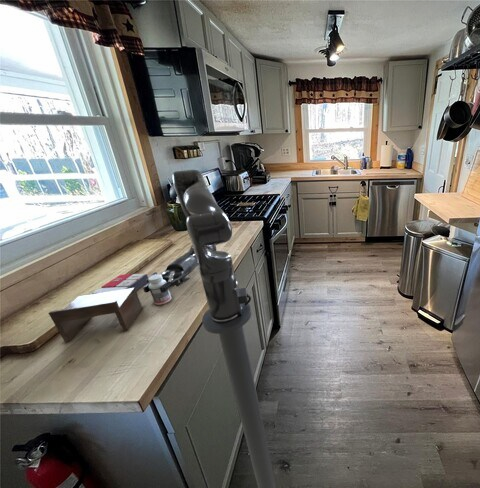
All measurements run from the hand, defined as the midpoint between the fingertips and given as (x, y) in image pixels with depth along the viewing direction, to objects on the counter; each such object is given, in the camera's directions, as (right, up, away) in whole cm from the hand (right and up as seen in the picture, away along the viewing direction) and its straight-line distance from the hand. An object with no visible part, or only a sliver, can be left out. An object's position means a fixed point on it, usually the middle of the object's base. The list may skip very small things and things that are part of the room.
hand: (153, 290), depth 87 cm
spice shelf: (-11, -9, -6) cm, 16 cm away
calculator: (-19, -3, +12) cm, 23 cm away
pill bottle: (0, -5, +5) cm, 7 cm away
